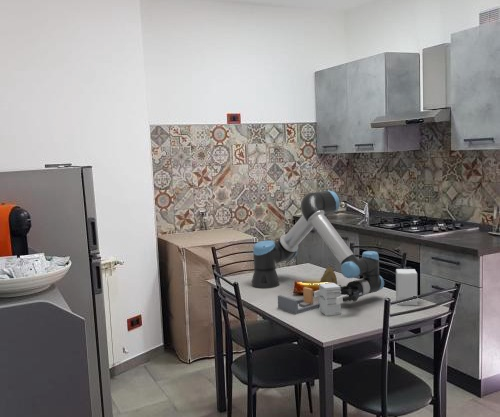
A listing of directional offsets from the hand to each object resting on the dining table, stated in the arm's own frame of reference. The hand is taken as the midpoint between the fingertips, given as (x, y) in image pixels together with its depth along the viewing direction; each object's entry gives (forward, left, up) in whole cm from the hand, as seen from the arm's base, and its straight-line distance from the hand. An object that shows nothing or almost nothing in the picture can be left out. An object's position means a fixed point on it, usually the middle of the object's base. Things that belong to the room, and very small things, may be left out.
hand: (325, 297), depth 227 cm
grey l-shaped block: (-15, +1, -7) cm, 17 cm away
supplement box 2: (+14, +39, -8) cm, 42 cm away
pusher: (-15, +2, -7) cm, 17 cm away
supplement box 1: (0, +3, -8) cm, 8 cm away
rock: (-32, +35, -8) cm, 48 cm away
